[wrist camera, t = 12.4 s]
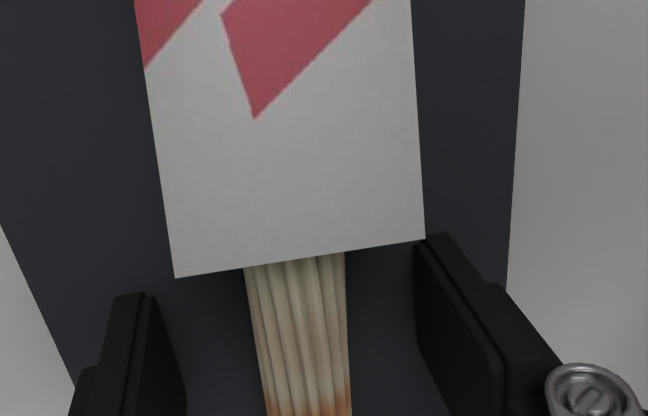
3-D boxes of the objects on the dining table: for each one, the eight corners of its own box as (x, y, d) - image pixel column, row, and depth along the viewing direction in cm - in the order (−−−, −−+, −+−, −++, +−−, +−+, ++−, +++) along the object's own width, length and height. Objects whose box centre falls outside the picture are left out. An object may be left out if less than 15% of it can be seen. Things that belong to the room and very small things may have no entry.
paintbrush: (505, -1044, 3) (404, 576, 14) (382, -672, 6) (374, 477, 16) (-176, -1176, 3) (250, 613, 13) (-12, -709, 5) (243, 504, 16)
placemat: (-436, -770, 5) (-483, -817, 5) (559, -759, 6) (579, -798, 6) (158, 554, 16) (157, 568, 15) (487, 473, 17) (493, 485, 17)
